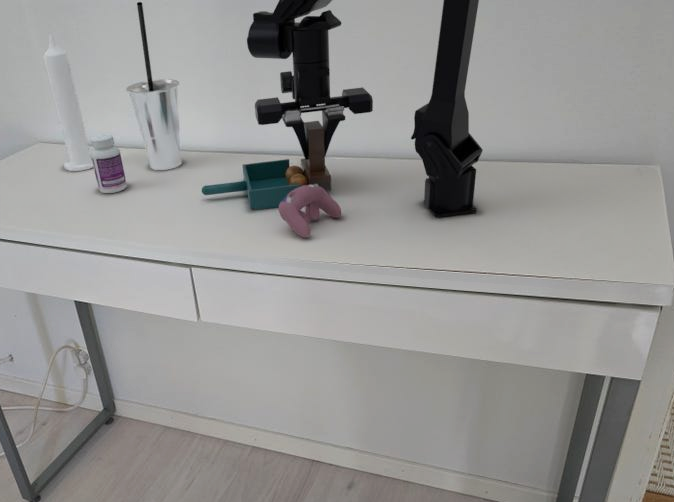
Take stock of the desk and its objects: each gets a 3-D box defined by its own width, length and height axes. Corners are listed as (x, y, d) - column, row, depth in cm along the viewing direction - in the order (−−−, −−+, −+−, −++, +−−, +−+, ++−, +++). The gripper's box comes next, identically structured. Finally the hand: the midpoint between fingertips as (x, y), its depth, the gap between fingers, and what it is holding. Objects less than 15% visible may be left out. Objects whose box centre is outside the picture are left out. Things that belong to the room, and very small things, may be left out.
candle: (63, 163, 141) (30, 35, 127) (96, 157, 143) (67, 29, 129) (66, 173, 136) (31, 39, 122) (100, 167, 137) (70, 34, 123)
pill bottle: (133, 185, 126) (122, 134, 121) (113, 195, 122) (102, 142, 117) (112, 182, 129) (101, 131, 123) (93, 191, 125) (80, 140, 120)
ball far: (295, 159, 118) (280, 170, 118) (297, 165, 115) (283, 176, 116) (305, 173, 119) (291, 184, 120) (308, 179, 116) (293, 190, 117)
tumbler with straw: (168, 178, 128) (139, 2, 111) (128, 170, 134) (94, 3, 117) (205, 161, 134) (182, -7, 118) (165, 154, 140) (138, -7, 124)
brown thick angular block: (321, 171, 121) (318, 116, 115) (331, 191, 112) (329, 132, 107) (301, 174, 120) (298, 118, 115) (310, 193, 112) (307, 135, 106)
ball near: (288, 171, 114) (287, 189, 116) (290, 177, 111) (289, 195, 113) (306, 171, 114) (305, 189, 116) (309, 177, 112) (308, 196, 113)
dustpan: (289, 176, 122) (288, 158, 120) (301, 204, 111) (300, 185, 109) (201, 187, 122) (199, 169, 120) (204, 216, 110) (201, 196, 108)
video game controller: (324, 221, 108) (307, 181, 106) (345, 214, 104) (328, 172, 102) (288, 245, 102) (268, 202, 100) (309, 237, 98) (289, 193, 96)
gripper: (358, 44, 112) (358, 138, 121) (248, 57, 111) (256, 150, 120) (373, 56, 103) (373, 157, 111) (254, 70, 102) (262, 170, 111)
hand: (314, 158), depth 114 cm, fingers closed on brown thick angular block, 2 cm apart
